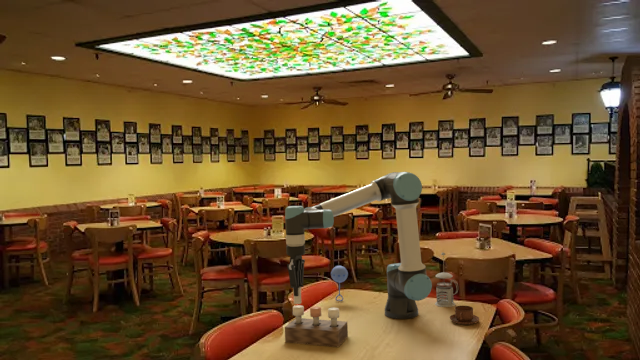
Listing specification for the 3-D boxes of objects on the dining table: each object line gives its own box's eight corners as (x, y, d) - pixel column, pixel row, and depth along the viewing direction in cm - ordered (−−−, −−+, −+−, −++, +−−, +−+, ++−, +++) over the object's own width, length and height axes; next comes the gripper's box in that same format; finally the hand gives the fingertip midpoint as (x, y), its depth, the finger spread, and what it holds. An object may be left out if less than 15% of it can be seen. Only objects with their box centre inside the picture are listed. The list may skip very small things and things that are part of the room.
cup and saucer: (481, 327, 201) (480, 312, 201) (450, 326, 203) (450, 311, 203) (477, 318, 213) (477, 304, 213) (449, 317, 215) (448, 303, 215)
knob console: (347, 336, 196) (347, 321, 196) (338, 347, 184) (337, 331, 184) (297, 332, 203) (296, 317, 203) (285, 342, 192) (284, 327, 192)
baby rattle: (349, 298, 252) (347, 263, 252) (348, 303, 243) (347, 267, 243) (332, 298, 253) (331, 264, 253) (331, 303, 244) (329, 267, 244)
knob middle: (323, 324, 195) (322, 306, 195) (319, 327, 191) (318, 309, 191) (313, 323, 197) (312, 306, 196) (309, 326, 192) (308, 309, 192)
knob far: (306, 322, 198) (305, 305, 198) (301, 326, 194) (301, 308, 193) (295, 322, 199) (295, 305, 199) (291, 325, 195) (290, 308, 195)
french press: (440, 300, 242) (438, 250, 242) (462, 303, 235) (460, 251, 234) (430, 305, 235) (429, 253, 234) (453, 308, 227) (452, 255, 227)
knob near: (341, 325, 192) (340, 307, 192) (337, 329, 188) (337, 311, 188) (330, 324, 194) (330, 307, 194) (327, 328, 190) (326, 310, 190)
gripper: (293, 242, 203) (295, 298, 204) (280, 247, 191) (282, 307, 191) (310, 242, 200) (312, 299, 201) (297, 247, 188) (299, 308, 189)
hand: (297, 303), depth 196 cm, fingers closed
